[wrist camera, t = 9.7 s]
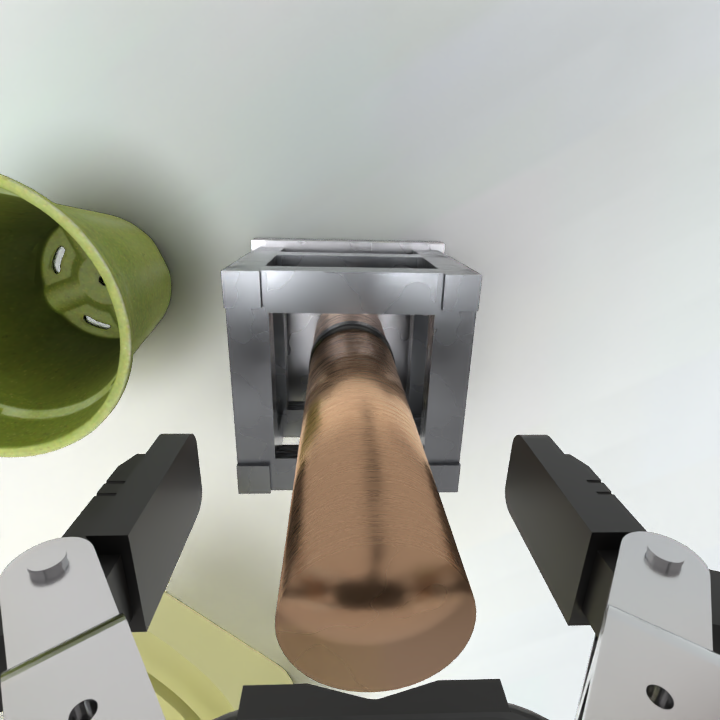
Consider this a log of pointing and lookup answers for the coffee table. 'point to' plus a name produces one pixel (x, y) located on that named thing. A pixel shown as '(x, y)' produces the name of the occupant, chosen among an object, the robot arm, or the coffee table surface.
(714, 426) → the coffee table surface
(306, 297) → the metal frame cube
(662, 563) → the robot arm
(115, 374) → the plant pot
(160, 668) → the slatted curved stool
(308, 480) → the tube
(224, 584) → the coffee table surface
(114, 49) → the coffee table surface
